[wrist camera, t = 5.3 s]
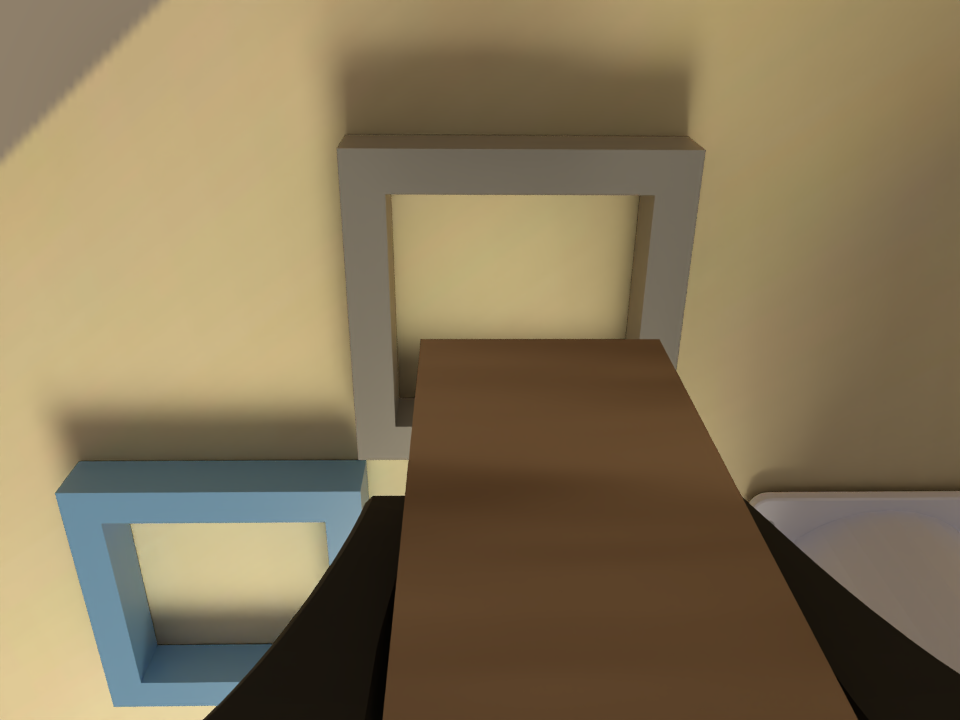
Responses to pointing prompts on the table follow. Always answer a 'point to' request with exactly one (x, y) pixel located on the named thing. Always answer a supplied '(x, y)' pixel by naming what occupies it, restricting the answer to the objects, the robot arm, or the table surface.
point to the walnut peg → (584, 550)
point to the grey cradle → (503, 171)
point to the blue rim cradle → (185, 499)
